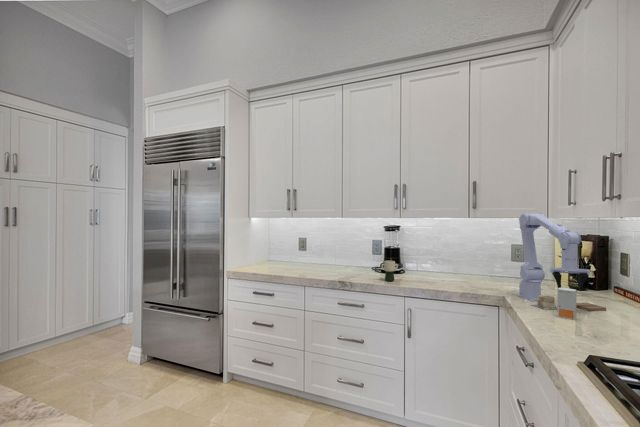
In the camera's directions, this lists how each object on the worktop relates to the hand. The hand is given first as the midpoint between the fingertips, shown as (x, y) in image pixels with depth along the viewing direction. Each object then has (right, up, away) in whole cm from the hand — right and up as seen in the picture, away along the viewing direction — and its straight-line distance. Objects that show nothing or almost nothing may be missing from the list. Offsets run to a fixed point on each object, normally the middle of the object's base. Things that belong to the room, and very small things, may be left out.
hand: (569, 289), depth 149 cm
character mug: (-65, -11, +72) cm, 98 cm away
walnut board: (+12, -10, +5) cm, 16 cm away
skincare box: (-8, -10, -9) cm, 16 cm away
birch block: (-6, -10, +7) cm, 13 cm away
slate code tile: (-6, -10, +7) cm, 13 cm away
